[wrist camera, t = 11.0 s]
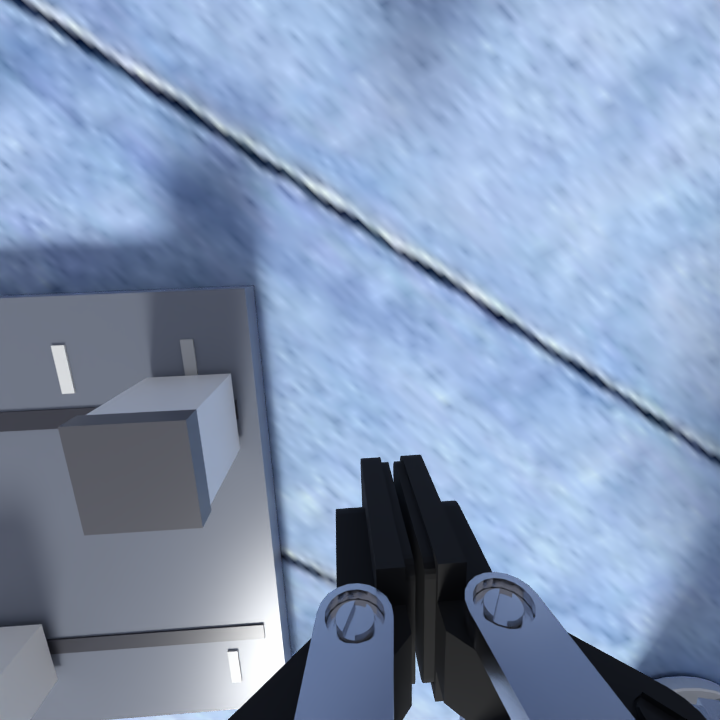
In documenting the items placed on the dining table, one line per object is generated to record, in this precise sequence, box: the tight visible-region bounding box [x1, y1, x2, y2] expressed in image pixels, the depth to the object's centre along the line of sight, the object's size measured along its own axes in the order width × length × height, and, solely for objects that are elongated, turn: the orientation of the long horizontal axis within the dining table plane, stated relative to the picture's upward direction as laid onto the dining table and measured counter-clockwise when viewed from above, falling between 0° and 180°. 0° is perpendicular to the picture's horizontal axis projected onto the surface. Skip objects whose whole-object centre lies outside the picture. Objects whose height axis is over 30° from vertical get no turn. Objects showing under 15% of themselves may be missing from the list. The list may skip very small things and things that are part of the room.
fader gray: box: [58, 374, 240, 535], centre depth 17 cm, size 4×4×6 cm
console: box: [0, 286, 291, 720], centre depth 22 cm, size 18×26×2 cm
